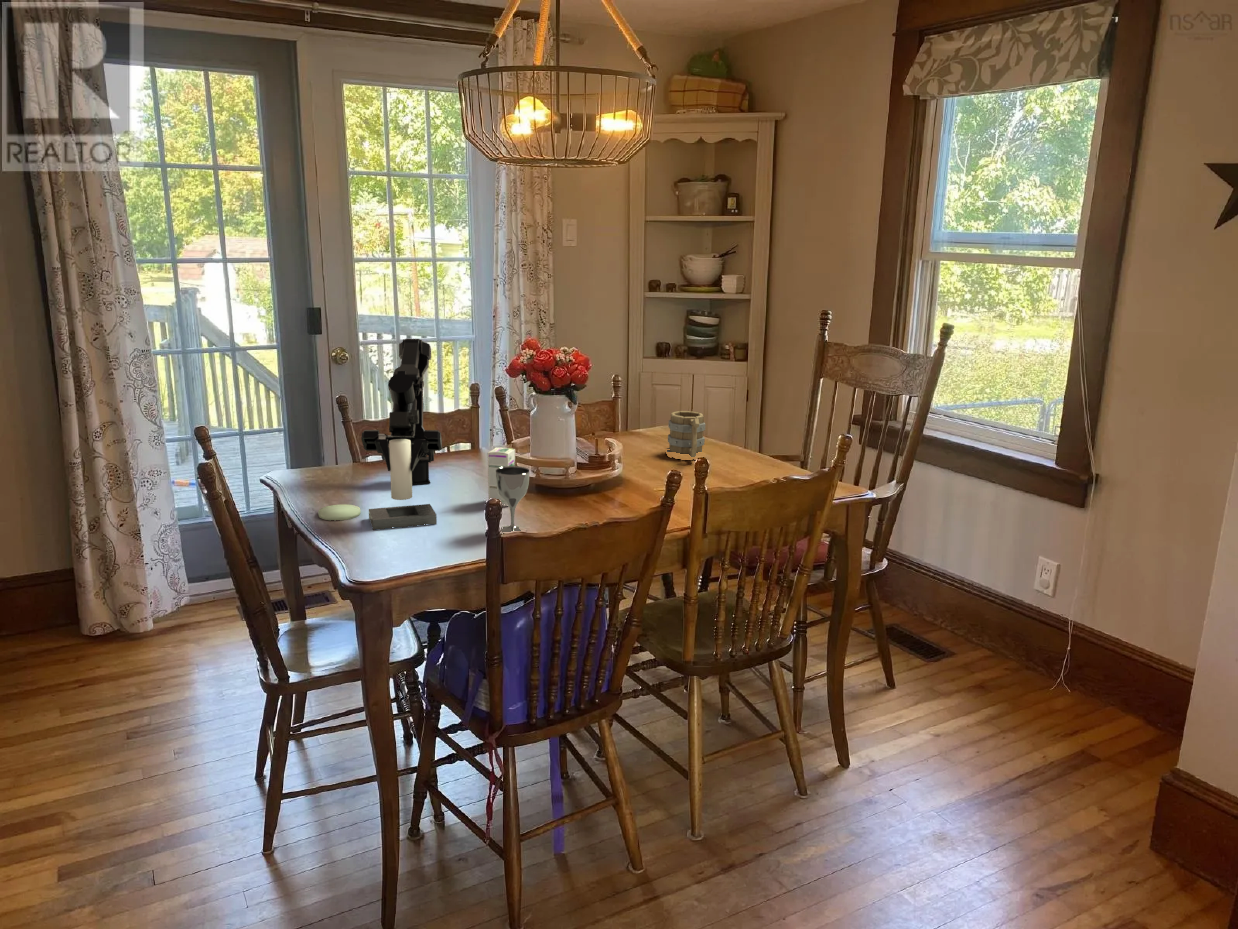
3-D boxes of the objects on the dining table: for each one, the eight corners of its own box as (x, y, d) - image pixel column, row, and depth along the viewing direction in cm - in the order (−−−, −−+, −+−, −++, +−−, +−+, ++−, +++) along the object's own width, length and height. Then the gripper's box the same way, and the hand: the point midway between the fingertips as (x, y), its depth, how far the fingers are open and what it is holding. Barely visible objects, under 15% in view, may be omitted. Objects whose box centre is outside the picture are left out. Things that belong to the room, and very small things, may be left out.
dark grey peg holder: (430, 513, 224) (429, 503, 224) (436, 524, 216) (436, 514, 216) (369, 518, 219) (368, 508, 218) (373, 530, 211) (372, 520, 210)
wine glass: (496, 524, 217) (496, 465, 213) (529, 525, 218) (529, 466, 214) (495, 535, 209) (494, 474, 206) (528, 535, 210) (529, 474, 206)
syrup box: (509, 507, 231) (509, 453, 227) (487, 505, 232) (487, 451, 229) (515, 500, 237) (516, 448, 233) (494, 499, 238) (494, 446, 234)
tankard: (663, 451, 295) (665, 406, 291) (700, 451, 297) (702, 407, 293) (673, 466, 276) (675, 419, 272) (712, 466, 277) (715, 419, 274)
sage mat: (358, 506, 228) (358, 503, 227) (362, 518, 219) (362, 514, 218) (317, 510, 224) (317, 506, 224) (319, 522, 215) (319, 518, 215)
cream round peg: (410, 493, 219) (408, 438, 215) (413, 499, 215) (412, 442, 211) (389, 494, 217) (387, 439, 214) (392, 500, 213) (390, 444, 209)
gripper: (360, 397, 212) (355, 453, 205) (439, 397, 215) (437, 453, 207) (367, 422, 222) (362, 476, 214) (443, 422, 224) (440, 476, 216)
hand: (400, 470), depth 213 cm, fingers closed on cream round peg, 5 cm apart
